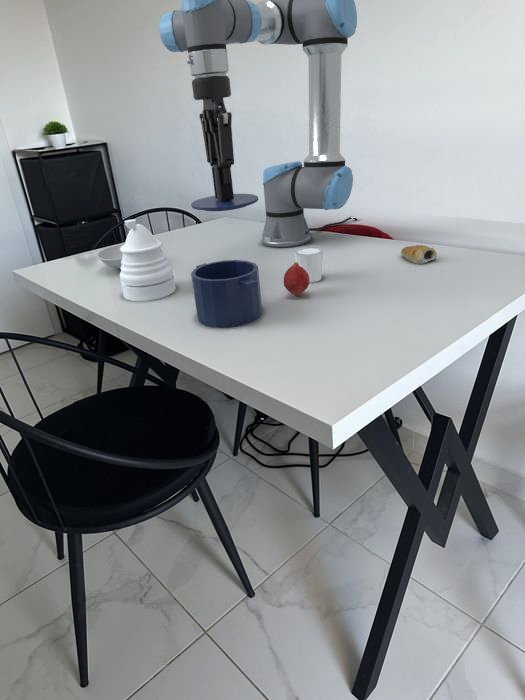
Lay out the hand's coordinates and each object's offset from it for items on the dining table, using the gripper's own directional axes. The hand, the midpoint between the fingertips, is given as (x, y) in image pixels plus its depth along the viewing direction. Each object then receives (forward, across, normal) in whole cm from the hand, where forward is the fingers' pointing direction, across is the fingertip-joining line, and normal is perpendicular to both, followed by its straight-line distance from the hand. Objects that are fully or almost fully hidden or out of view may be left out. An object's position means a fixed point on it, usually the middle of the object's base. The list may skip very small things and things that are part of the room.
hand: (224, 198), depth 111 cm
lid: (+1, 0, 0) cm, 1 cm away
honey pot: (+22, -14, -18) cm, 32 cm away
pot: (+22, +12, -6) cm, 25 cm away
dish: (+22, -40, -19) cm, 50 cm away
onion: (+22, +10, +11) cm, 27 cm away
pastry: (+23, +4, +49) cm, 54 cm away
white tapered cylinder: (+22, +1, +19) cm, 30 cm away
